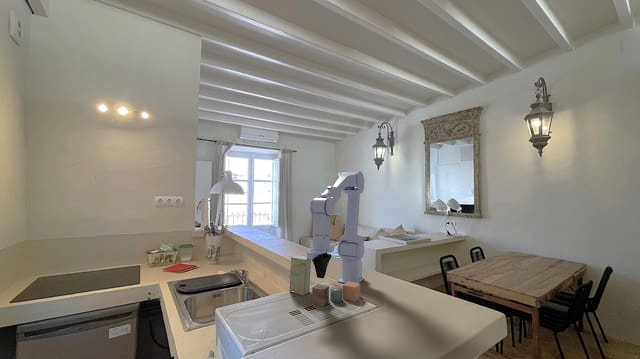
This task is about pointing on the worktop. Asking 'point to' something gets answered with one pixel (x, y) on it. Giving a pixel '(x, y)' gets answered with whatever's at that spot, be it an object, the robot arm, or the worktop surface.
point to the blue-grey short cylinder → (336, 294)
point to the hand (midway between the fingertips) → (320, 277)
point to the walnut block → (320, 294)
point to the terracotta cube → (351, 291)
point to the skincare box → (300, 274)
